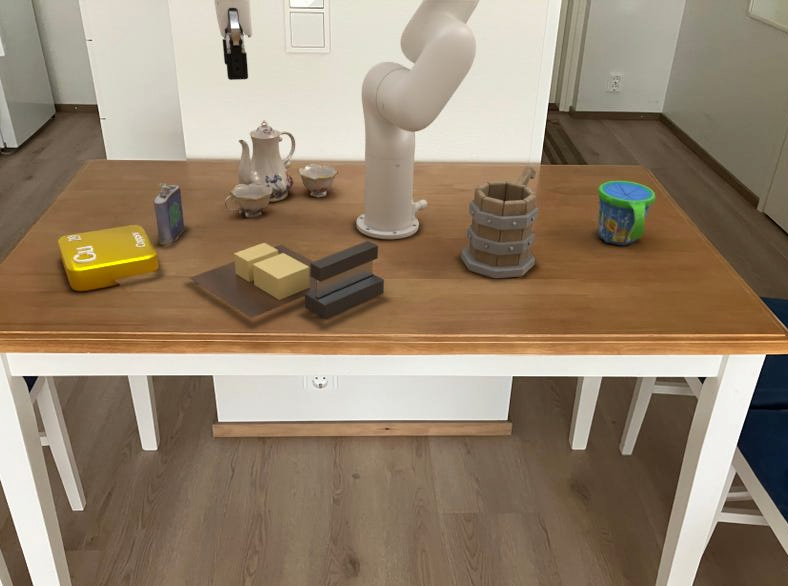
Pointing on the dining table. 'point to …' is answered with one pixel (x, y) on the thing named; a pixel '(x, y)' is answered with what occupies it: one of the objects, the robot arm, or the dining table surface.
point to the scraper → (343, 268)
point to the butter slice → (252, 259)
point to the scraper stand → (344, 297)
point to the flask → (169, 214)
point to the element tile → (106, 256)
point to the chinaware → (272, 173)
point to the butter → (281, 276)
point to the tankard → (502, 228)
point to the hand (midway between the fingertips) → (236, 71)
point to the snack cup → (623, 211)
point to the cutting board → (248, 287)
